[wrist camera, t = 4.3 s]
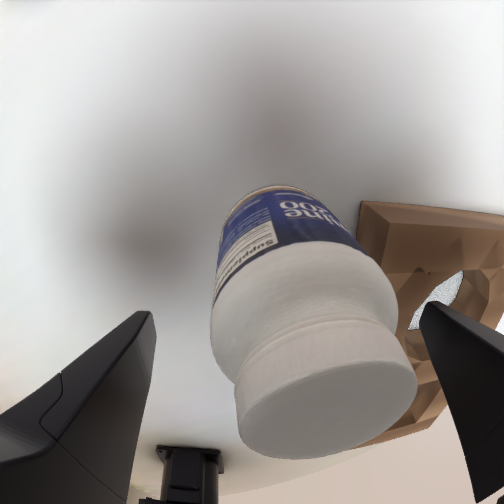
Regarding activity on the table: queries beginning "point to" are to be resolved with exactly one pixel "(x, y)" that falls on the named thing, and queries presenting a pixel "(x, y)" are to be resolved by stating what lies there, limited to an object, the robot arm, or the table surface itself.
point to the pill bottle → (305, 329)
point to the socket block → (433, 282)
